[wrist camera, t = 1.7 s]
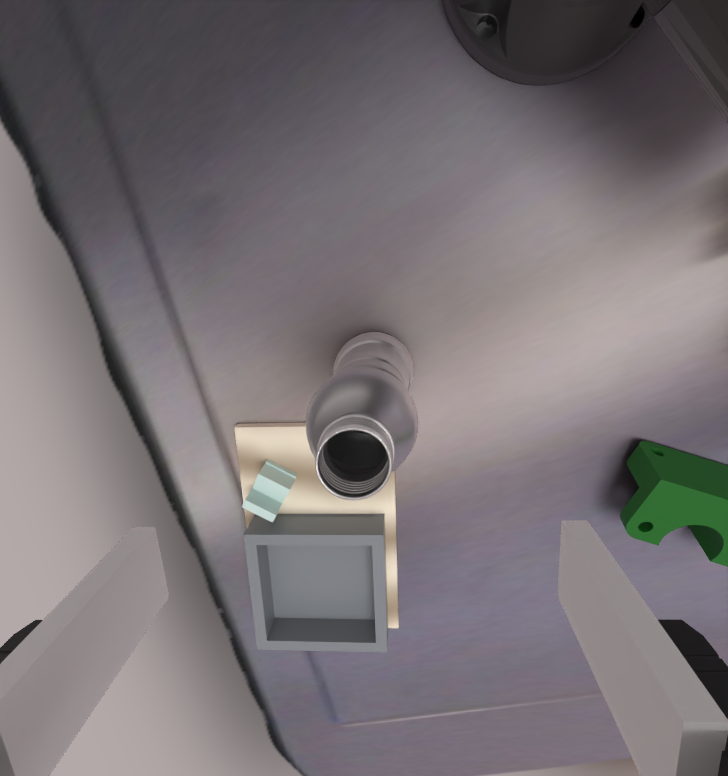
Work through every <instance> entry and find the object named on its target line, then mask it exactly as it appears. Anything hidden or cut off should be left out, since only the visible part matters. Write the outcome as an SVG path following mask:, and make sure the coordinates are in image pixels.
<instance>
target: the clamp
mask: <svg viewBox="0 0 728 776" xmlns="http://www.w3.org/2000/svg"><path fill="white" fill-rule="evenodd" d="M626 463H627V466H628V468H629V470H630V471H631V473H632V475H633V477H634V479H635V481H636V482H637V484H638V486H639V489H638V490H637V491H636V492H635V494H634V495H633V496H632V498H631V499H630V500H629V502H628V503H627V504H626V506H625V507H624V508H623V510H622V511H621V514H620V517H621V520H622V522H623V525H624V527H625V529H626V531H627V533H628V534H629V535H630V536H631V537H633V538H636V539H639V540H642V541H645V542H649V543H652V544H655V545H659V543H660V541H661V539H662V538H663V537H664V536H665V535H666V534H668V533H669V532H671V531H673V530H675V529H677V528H680V527H683V526H689V528H690V529H691V531H692V532H693V534H694V536H695V537H696V539H697V541H698V542H699V544H700V545H701V547H702V549H703V550H704V552H705V553H706V555H707V557H708V558H709V560H710V561H711V562H715V563H718V564H721V565H724V566H728V466H727V465H724V464H721V463H717V462H714V461H711V460H708V459H704V458H701V457H698V456H695V455H691V454H688V453H685V452H681V451H678V450H675V449H672V448H668V447H665V446H662V445H659V444H655V443H652V442H649V441H641V442H640V443H639V445H638V446H637V447H636V449H635V450H634V452H633V453H632V454H631V456H630V457H629V459H628V460H627V462H626Z"/></svg>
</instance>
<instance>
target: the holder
mask: <svg viewBox="0 0 728 776" xmlns="http://www.w3.org/2000/svg"><path fill="white" fill-rule="evenodd" d="M244 543H245V551H246V559H247V567H248V576H249V584H250V592H251V601H252V609H253V617H254V626H255V634H256V642H257V649H260V650H305V651H350V652H387V646H388V605H387V574H386V543H385V514H277V515H276V517H275V519H274V521H273V523H272V522H270V521H268V520H266V519H264V518H262V517H260V516H258V515H256V514H255V515H254V517H253V519H252V520H251V522H250V524H249V526H248V528H247V529H246V531H245V533H244Z"/></svg>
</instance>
